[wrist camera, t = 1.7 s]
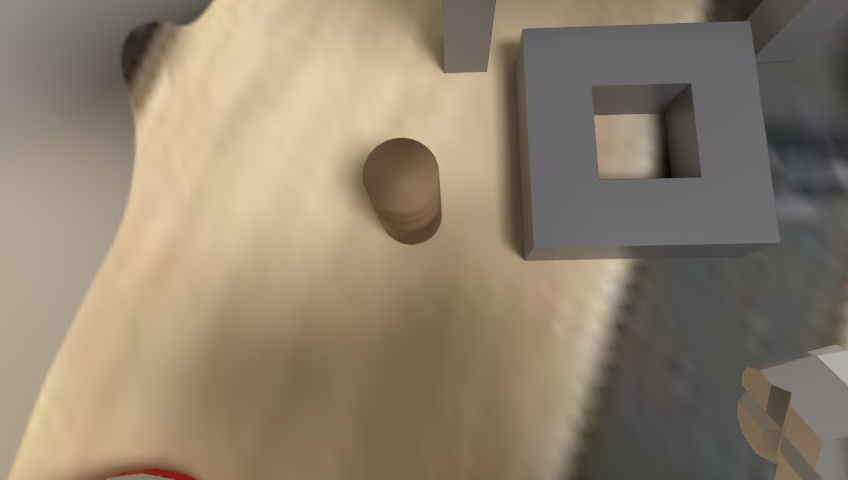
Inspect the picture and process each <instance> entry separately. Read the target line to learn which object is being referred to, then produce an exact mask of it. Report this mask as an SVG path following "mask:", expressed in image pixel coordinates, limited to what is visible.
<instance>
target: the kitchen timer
mask: <svg viewBox="0 0 848 480" xmlns="http://www.w3.org/2000/svg"><path fill="white" fill-rule="evenodd" d="M106 480H195V479H193V478H191V477H189V476H187V475H185V474H181V473H175V472H170V471H164V470H159V469H150V470H142V471H134V472H126V473H122V474H119V475H116V476H113V477H110V478H108V479H106Z"/></svg>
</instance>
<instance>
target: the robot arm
mask: <svg viewBox="0 0 848 480" xmlns="http://www.w3.org/2000/svg"><path fill="white" fill-rule="evenodd" d="M742 384H743V385H744V386H745V387H746V389H747V390H748V391H747V392H746V393H745V394H744V396H743V397H742V398H741V399H740V400H739V405H738V418H739V421H740V425H741V429H742V431H743V433H744V435H745V437H746V439H747V440H748V442H749V444H750V445H751V446H752V448H753V449H754V450H755V452H756V453H757V454H758V455H759V456H761V457H763V458H765V459H767V460H769V461H771V462H773V463H775V478H776V480H848V351H847V350H846V349H844V348H842V347H840V346H837V345H832V346H827V347H823V348H820V349H816V350H813V351H809V352H806V353H798V354H794V355H791V356H787V357H783V358H780V359H776V360H772V361H769V362H765V363H762V364H758V365H754V366H751V367H748V368H747V369H746V370H745V371H744V373H743V379H742Z"/></svg>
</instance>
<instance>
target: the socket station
mask: <svg viewBox="0 0 848 480" xmlns="http://www.w3.org/2000/svg"><path fill="white" fill-rule="evenodd" d="M495 4H496V0H443V45H444V73H454V72H485V71H487V66H488V59H489V51H490V43H491V35H492V27H493V19H494V12H495ZM847 14H848V0H763V1H762V3H761V4H760V5H759V6H758V7H757V8H756V9H755V11H754V12H753V13H752V14H751V15H750V16H749V18H748V19H747V20H746V21H735V22H707V23H678V24H650V25H621V26H593V27H564V28H536V29H523V31H522V35H521V40H520V44H519V49H518V53H517V58H516V63H515V71H516V92H517V113H518V134H519V155H520V176H521V197H522V218H523V239H524V260H525V261H532V260H582V259H632V258H682V257H732V256H745V255H747V254H750V253H753V252H756V251H759V250H761V249H764V248H767V247H770V246H773V245H775V244H778V243H780V237H779V230H778V222H777V215H776V207H775V200H774V193H773V185H772V178H771V170H770V163H769V156H768V148H767V141H766V134H765V126H764V119H763V111H762V104H761V97H760V89H759V82H758V74H757V67H756V63H763V62H793V61H794V60H795V59H796V58H798V57H799V56H800V55H801V54H802V53H803V52H804V51H806V50H807V49H808V48H809V47H810V46H811V45H812V44H814V43H815V42H816V41H817V40H818V39H819V38H821V37H822V36H823V35H824V34H825V33H826V32H827V31H829V30H830V29H831V28H832V27H833V26H834V25H835V24H837V23H838V22H839V21H840V20H841V19H842V18H843V17H845V16H846V15H847ZM651 113H665V117H666V127H667V137H668V147H669V157H670V167H671V177H672V178H661V179H621V180H599V178H598V165H597V151H596V138H595V125H594V115H617V114H651Z"/></svg>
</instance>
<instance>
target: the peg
mask: <svg viewBox="0 0 848 480" xmlns="http://www.w3.org/2000/svg"><path fill="white" fill-rule="evenodd" d="M363 182H364V186H365V188H366V191H367V193H368V195H369V197H370V199H371V201H372V203H373V205H374V207H375V209H376V211H377V213H378V215H379V217H380V220H381V222H382V224H383V226H384V228H385V230H386V231H387V233H388V234H389V235H390V236H391V237H392V238H393V239H395V240H396V241H398V242H400V243H403V244H409V245H414V244H419V243H422V242H425V241H427V240H428V239H430V238H431V237H432V236H433V235H434V234H435V233H436V231H437V230H438V228H439V226H440V222H441V197H440V180H439V167H438V164H437V161H436V158H435V157H434V155H433V153H432V152H431V151H430V150H429V149H428V148H427V147H426V146H425V145H423V144H422V143H420V142H418V141H415V140H413V139H408V138H396V139H391V140H388V141H385V142H383V143H382V144H380V145H379V146H377V147H376V148H375V149H374V150H373V151H372V152H371V153H370V155H369V156H368V158H367V160H366V162H365V165H364V169H363Z"/></svg>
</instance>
